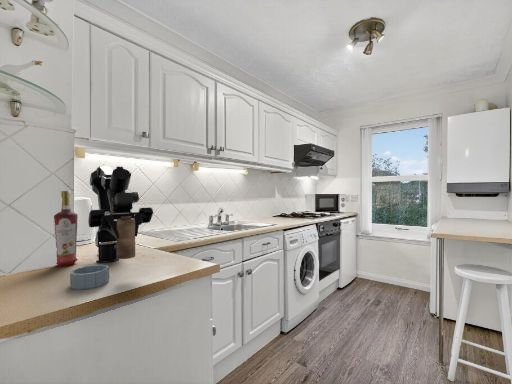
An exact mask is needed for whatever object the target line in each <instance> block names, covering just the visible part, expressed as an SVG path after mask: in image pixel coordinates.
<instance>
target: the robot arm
mask: <svg viewBox="0 0 512 384" xmlns="http://www.w3.org/2000/svg"><path fill="white" fill-rule="evenodd" d="M96 167H97V168H96V170H94V171H92V172H91V173H90V175H89V176H90V177H89V185H90V186H91V190H92V192H93V193H94V194H96V197H97V201H98V202H97V204H98V209H91V210H90V211H89V213H88V219H87V220H88V221H87V222H88V227H89V228H97V230H96V233H95V238H94V239H95V240H94V244H95V245H94V246H95V247H97V248H98V250H97V253H98V254H97V255H98V259H97V260H96V261H95V262H96V263H113V262H115V261H117V260H119V259H118V258H117V239H118V232H117V220H118V219H121V216H131V219H135V238H136V237H138V233H139V229H140V225H142V224H146V223H147V224H148V223H150V222H151V220H152V217H153V215H154V209H153V208H152V207H150V206H148V207H147V206H145V207H139V209H138V211H134V212H133V211H132V210H133V207H134V206H133V204H134V203H138V202H139V201H140V196H139V193H138V192H137V191H132V192H126V191H128V189H129V185H130V182H131V178H132V173H131V172H130V171H129V170H128V169H125V168H124V167H123V166H116V167H115V169H113V168H112V166H105V165H103V166H102V165H101V166H100V165H99V166H96Z"/></svg>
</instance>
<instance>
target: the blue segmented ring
mask: <svg viewBox="0 0 512 384" xmlns="http://www.w3.org/2000/svg"><path fill="white" fill-rule="evenodd" d="M109 281H110V266H109V265H106V264H92V265H84V266H80V267H77V268H74V269H72V270H70V272H69V286H70V287H69V288H70V289H71V290H76V291H77V290H78V291H81V290H90V289H94V288H95V289H96V288H99V287H102V286H104V285H106V284H108V283H109Z"/></svg>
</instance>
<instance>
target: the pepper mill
mask: <svg viewBox="0 0 512 384" xmlns="http://www.w3.org/2000/svg"><path fill="white" fill-rule="evenodd" d="M117 232H118V239H117V258H118V259H117V260H127V259H128V260H129V259H134V258H135V257H136V236H135V219H131V216H121V219H118V220H117Z"/></svg>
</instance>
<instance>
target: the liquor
mask: <svg viewBox="0 0 512 384" xmlns="http://www.w3.org/2000/svg"><path fill="white" fill-rule="evenodd" d="M60 196H61V209H60V212H57V213H56V214H54V215H53V221H54V223H55V224H54V235H55V246H56V247H55V249H56V248H57V251H56V261H57V263H55V264H56V265H57V266H59V267H68V266H72V265H74V264H75V263H76V262H77V261H78V258H77V236H78V235H77V234H78V220H79V219H78V216H79V215H78V213H76V212H74V211H71V209H72V208H71V202H70V201H71V200H70V199H71V190H62V191H61V195H60Z"/></svg>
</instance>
